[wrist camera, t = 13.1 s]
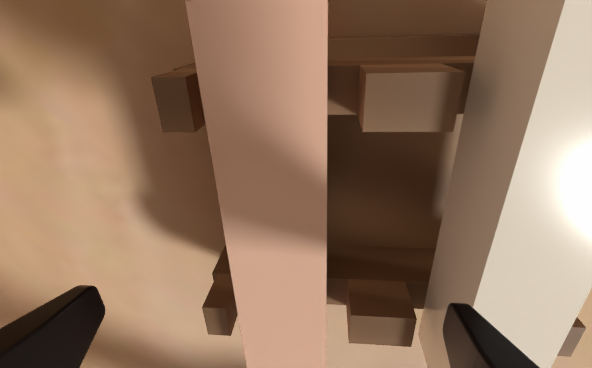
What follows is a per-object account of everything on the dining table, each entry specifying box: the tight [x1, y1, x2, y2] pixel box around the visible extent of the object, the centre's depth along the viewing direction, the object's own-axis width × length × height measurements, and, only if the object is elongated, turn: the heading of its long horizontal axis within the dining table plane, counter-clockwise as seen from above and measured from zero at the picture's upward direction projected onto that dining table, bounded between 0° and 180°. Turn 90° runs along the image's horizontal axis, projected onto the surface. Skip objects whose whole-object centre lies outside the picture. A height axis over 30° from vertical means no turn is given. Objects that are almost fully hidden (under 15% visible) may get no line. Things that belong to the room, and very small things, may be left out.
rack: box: [151, 34, 586, 357], centre depth 13 cm, size 12×15×5 cm
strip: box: [418, 0, 592, 368], centre depth 11 cm, size 14×3×4 cm, turn 2°
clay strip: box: [185, 0, 328, 368], centre depth 11 cm, size 14×3×4 cm, turn 2°
